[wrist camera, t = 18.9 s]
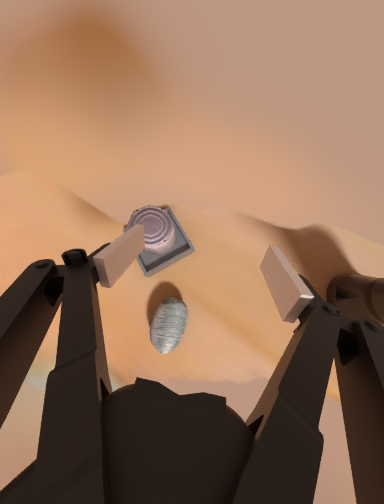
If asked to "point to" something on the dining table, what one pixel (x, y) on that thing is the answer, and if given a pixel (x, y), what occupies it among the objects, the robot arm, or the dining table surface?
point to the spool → (168, 324)
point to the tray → (157, 263)
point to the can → (155, 229)
